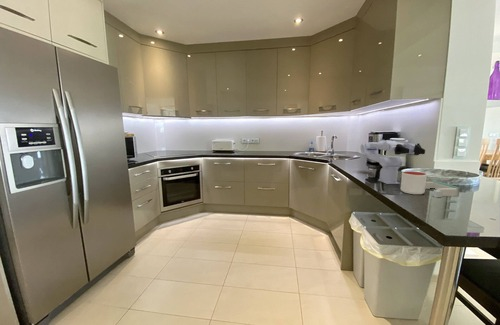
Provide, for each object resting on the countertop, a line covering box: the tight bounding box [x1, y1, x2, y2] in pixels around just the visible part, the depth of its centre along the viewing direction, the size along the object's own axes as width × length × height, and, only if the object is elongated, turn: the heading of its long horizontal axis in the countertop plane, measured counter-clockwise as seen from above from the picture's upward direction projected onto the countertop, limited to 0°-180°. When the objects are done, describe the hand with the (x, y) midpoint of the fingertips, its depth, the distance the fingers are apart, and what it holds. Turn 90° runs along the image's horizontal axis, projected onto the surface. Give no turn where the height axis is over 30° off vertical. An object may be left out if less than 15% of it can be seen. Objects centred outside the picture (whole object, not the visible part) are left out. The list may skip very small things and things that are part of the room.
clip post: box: [432, 189, 443, 198], centre depth 103 cm, size 2×2×3 cm
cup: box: [400, 170, 427, 195], centre depth 110 cm, size 10×10×10 cm
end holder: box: [425, 179, 461, 197], centre depth 111 cm, size 14×10×4 cm
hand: (416, 151), depth 108 cm, fingers open, 7 cm apart
